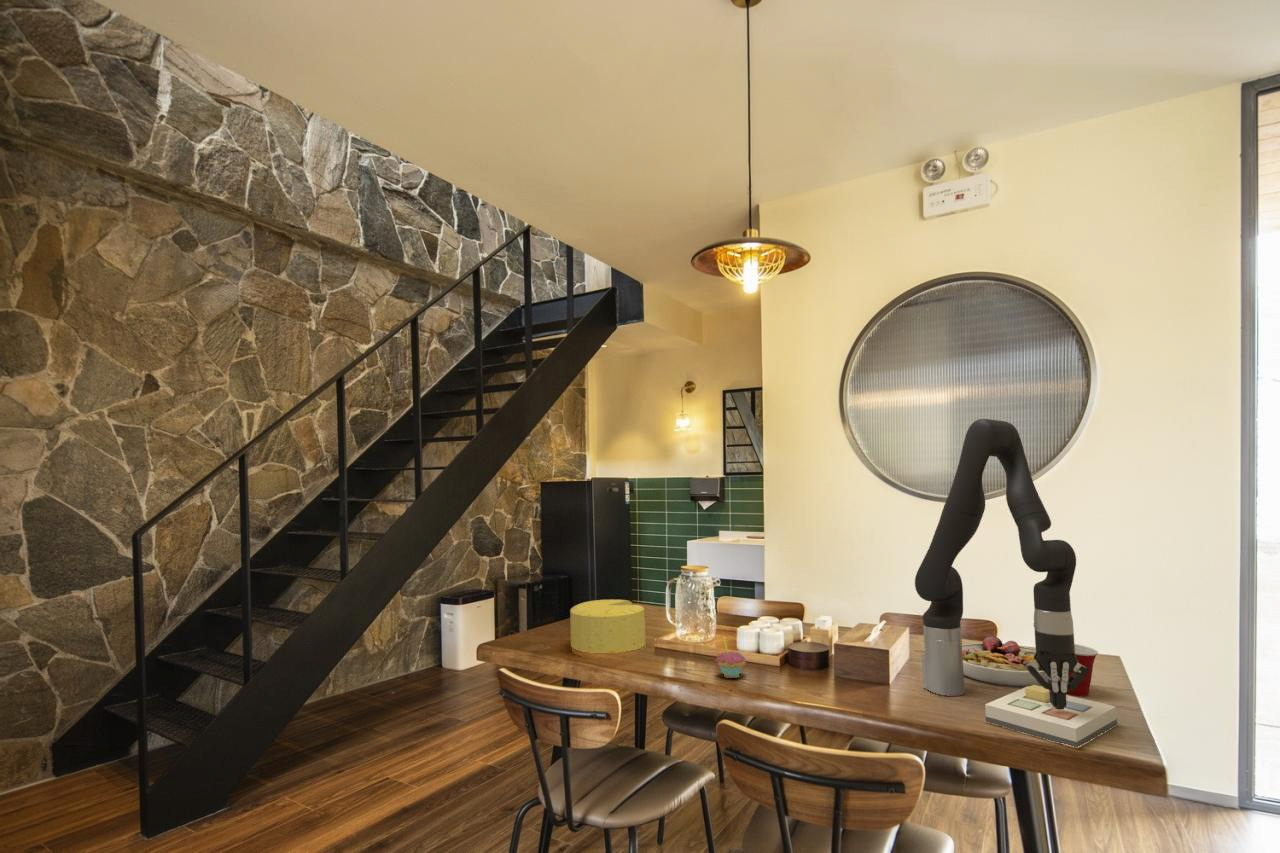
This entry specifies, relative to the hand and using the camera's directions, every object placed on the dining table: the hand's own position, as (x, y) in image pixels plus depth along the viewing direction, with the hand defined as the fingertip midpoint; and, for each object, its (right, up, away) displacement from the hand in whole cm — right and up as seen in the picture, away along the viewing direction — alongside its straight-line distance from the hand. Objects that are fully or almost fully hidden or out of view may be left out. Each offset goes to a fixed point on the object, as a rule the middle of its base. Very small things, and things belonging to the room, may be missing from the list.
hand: (1058, 708), depth 146 cm
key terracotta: (0, -3, -1) cm, 3 cm away
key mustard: (+2, -2, +10) cm, 10 cm away
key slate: (+6, -4, +4) cm, 8 cm away
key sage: (-4, -4, +5) cm, 8 cm away
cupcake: (-67, -11, +46) cm, 82 cm away
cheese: (-105, -15, +82) cm, 134 cm away
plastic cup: (+20, -7, +25) cm, 33 cm away
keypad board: (+1, -6, +4) cm, 7 cm away
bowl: (+12, -9, +43) cm, 46 cm away
